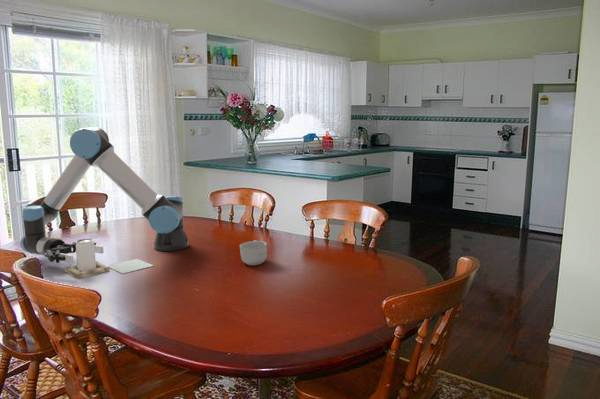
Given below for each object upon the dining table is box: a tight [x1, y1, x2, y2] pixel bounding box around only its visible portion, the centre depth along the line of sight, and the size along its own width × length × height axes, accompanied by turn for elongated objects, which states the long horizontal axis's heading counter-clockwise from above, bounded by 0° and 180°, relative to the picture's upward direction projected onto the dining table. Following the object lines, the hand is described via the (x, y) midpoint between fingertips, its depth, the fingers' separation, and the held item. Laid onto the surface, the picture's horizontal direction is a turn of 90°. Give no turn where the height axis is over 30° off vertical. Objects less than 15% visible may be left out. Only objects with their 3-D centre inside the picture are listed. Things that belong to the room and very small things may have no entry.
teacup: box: [239, 239, 268, 266], centre depth 200 cm, size 14×11×8 cm
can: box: [75, 238, 96, 272], centre depth 190 cm, size 6×6×12 cm
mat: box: [107, 258, 154, 275], centre depth 196 cm, size 13×13×1 cm
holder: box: [64, 261, 110, 279], centre depth 191 cm, size 12×12×2 cm
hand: (87, 254), depth 189 cm, fingers open, 13 cm apart
